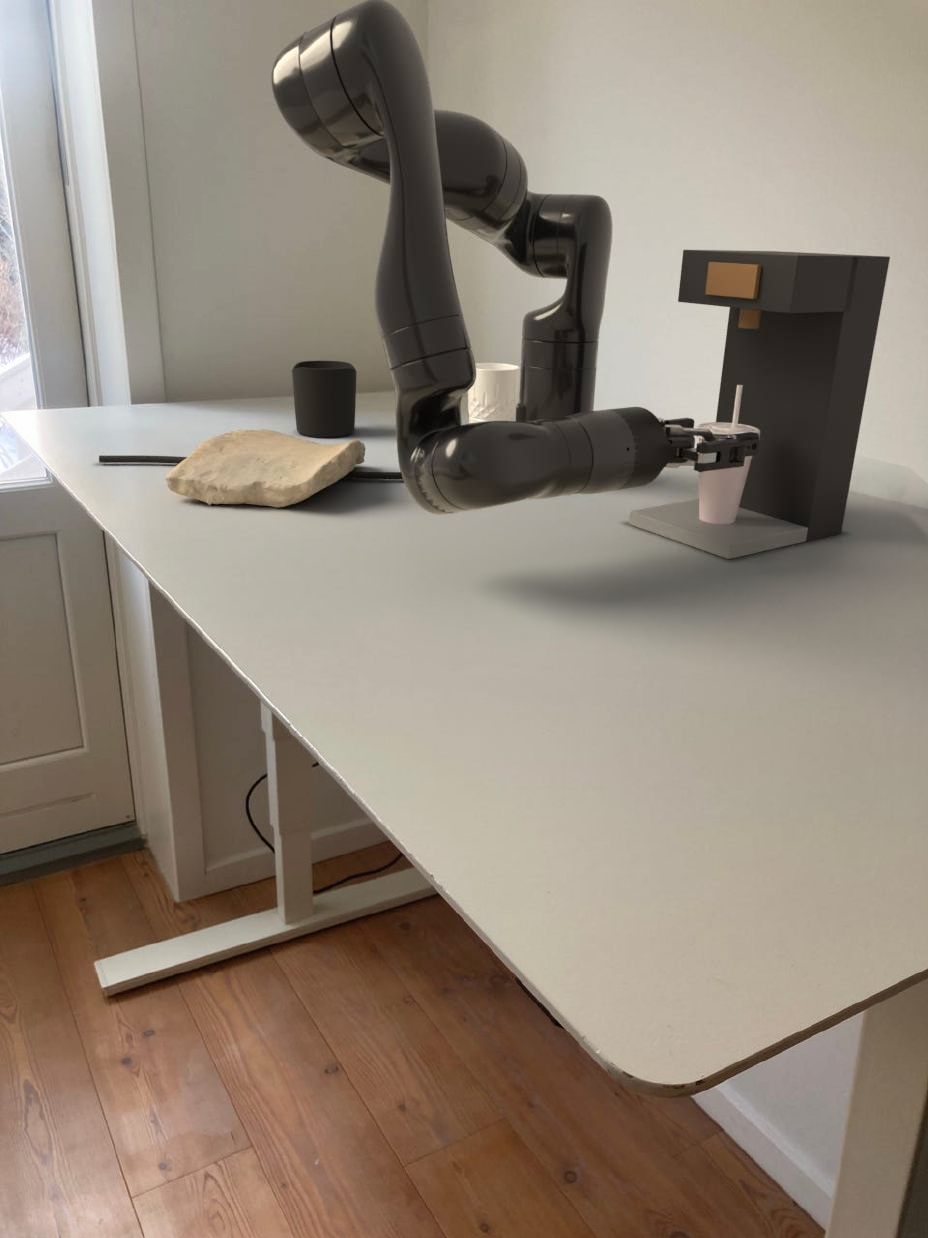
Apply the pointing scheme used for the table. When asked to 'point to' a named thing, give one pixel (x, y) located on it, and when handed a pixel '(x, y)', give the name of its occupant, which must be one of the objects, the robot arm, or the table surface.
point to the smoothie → (724, 475)
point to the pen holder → (324, 398)
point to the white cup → (493, 393)
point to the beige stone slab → (262, 468)
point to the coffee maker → (784, 390)
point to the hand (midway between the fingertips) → (722, 435)
